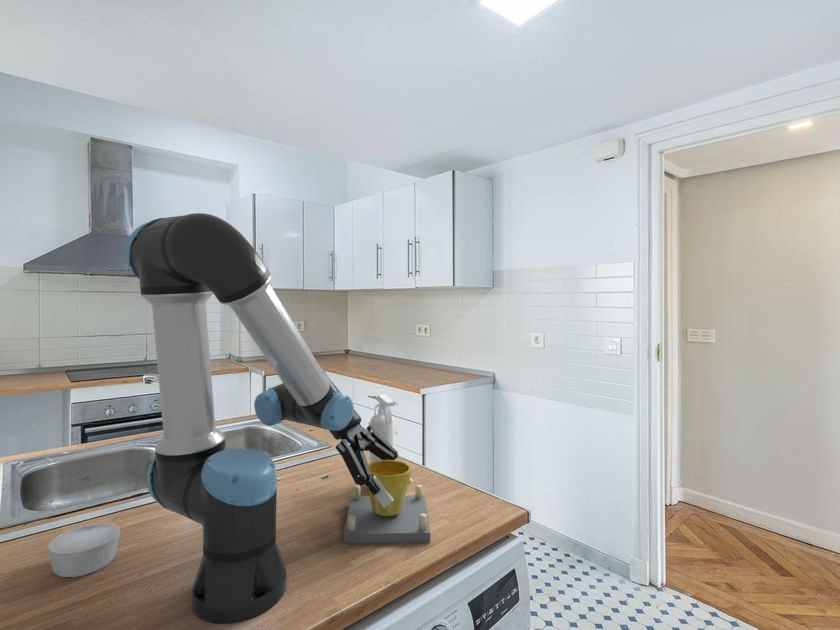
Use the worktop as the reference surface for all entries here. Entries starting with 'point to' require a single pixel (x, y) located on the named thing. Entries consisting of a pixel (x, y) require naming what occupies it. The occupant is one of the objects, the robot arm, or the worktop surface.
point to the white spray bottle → (383, 422)
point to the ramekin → (83, 549)
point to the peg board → (387, 521)
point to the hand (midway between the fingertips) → (399, 494)
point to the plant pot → (390, 484)
